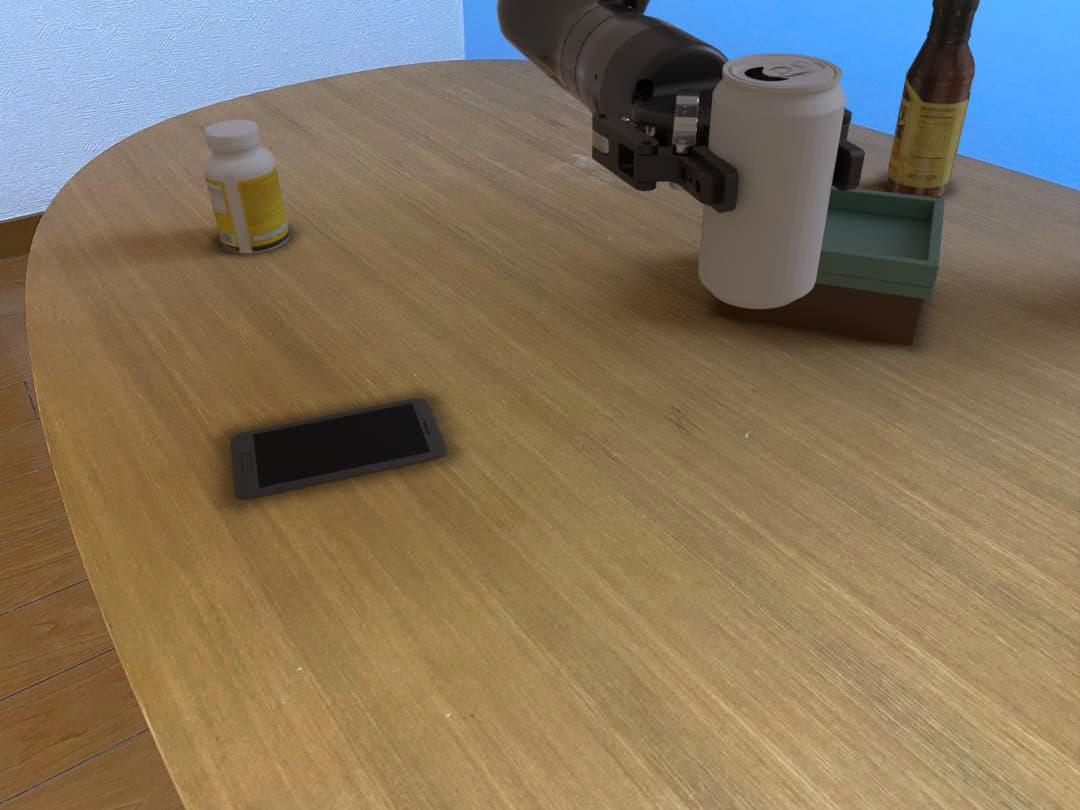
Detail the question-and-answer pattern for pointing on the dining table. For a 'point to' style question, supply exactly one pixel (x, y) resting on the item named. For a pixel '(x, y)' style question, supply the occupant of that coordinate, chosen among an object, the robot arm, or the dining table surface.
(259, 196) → the pill bottle
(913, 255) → the storage box
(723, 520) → the dining table surface
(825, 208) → the beverage can
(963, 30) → the sauce bottle
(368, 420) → the cell phone
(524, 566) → the dining table surface
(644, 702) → the dining table surface
